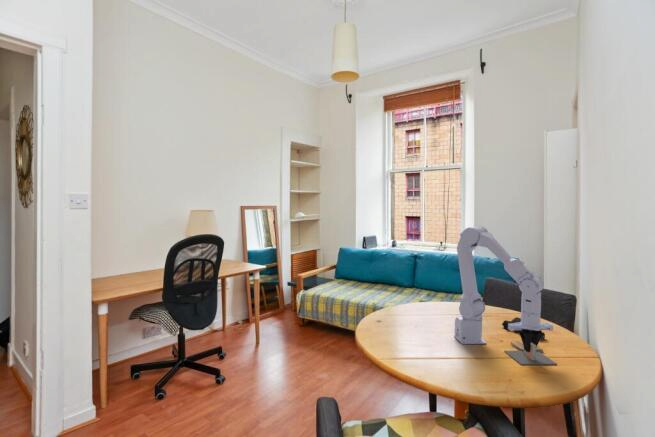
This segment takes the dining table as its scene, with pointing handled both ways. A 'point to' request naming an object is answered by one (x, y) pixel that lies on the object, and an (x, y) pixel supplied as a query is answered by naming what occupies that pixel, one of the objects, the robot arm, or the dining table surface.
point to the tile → (531, 352)
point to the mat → (525, 360)
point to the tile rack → (521, 347)
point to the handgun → (515, 320)
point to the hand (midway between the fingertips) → (529, 350)
